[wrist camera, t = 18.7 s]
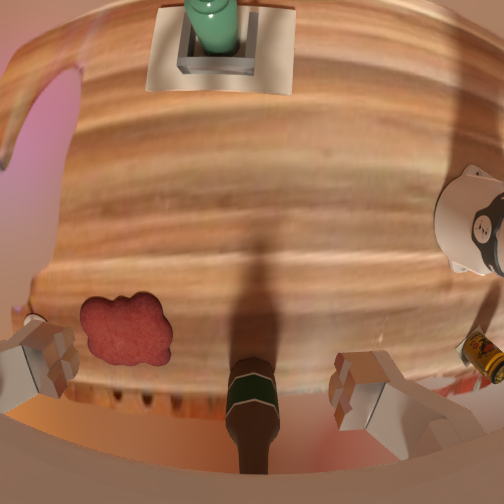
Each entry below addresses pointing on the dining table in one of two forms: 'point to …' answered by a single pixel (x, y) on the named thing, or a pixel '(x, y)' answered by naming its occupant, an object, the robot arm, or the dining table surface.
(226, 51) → the bottle
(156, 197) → the dining table surface
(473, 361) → the condiment
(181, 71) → the bottle stand
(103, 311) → the patty
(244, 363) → the beer bottle
